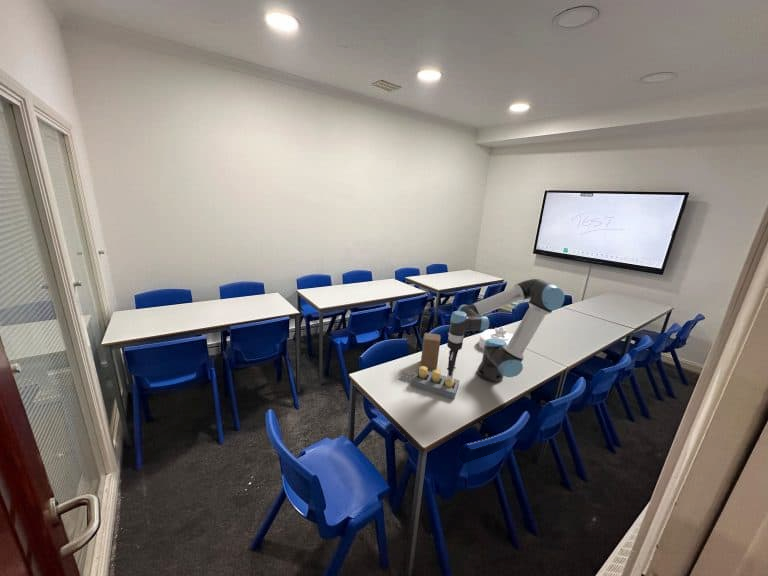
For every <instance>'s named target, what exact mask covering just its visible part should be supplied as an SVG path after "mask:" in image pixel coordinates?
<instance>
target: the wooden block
mask: <svg viewBox="0 0 768 576" xmlns="http://www.w3.org/2000/svg"><path fill="white" fill-rule="evenodd" d="M422 340H423V341H422V347H421V358H420V359H421V360H420V366H425V367H427V368H428V370H432V371H433V370H438V361H439V356H440V355H439V353H440V346H441V345H440V344H441V334H438V333H437V334H436V333H431V332H430V333H429V332H425V333H424V334H423V339H422ZM420 366H419V367H420Z"/></svg>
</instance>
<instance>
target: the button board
mask: <svg viewBox="0 0 768 576" xmlns="http://www.w3.org/2000/svg"><path fill="white" fill-rule="evenodd" d="M432 372H433V371H429V370H428V371H427V377H426V378H420V377H419V368H418V369H417V370H416V372H415V373H414V377H413V378H412V380H411V383H410V387H413V388H414V389H418V390H422V391H424V392H429V393H431V394H436V395H438V396H441V397H444V398H448V399H451V400H455V399H456V395H457V392H458V390H459V386H460V379H457V378H453V379H454V385H453V388H450V387H446V386H445V379H446V378H447V375H442V374H441V376H440V381H439V382H433V381H432Z"/></svg>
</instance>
